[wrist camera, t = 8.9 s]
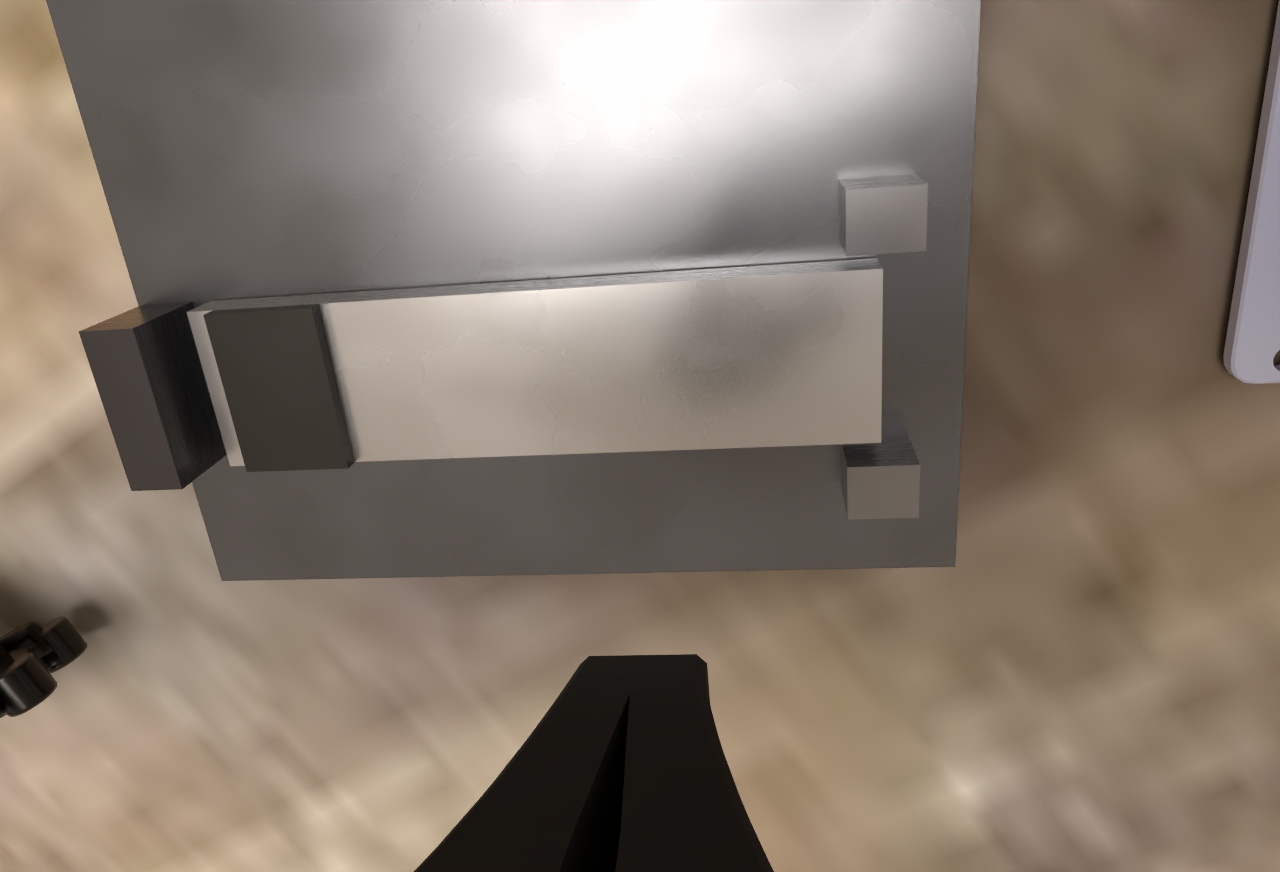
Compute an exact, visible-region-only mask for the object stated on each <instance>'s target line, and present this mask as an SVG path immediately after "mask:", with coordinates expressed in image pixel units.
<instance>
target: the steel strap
mask: <svg viewBox="0 0 1280 872" xmlns="http://www.w3.org/2000/svg"><path fill="white" fill-rule="evenodd" d="M187 316H188V319H189V323H190V326H191V330H192V333H193V337H194V340H195V344H196V347H197V351H198V354H199V358H200V361H201V365H202V369H203V372H204V376H205V379H206V383H207V386H208V390H209V393H210V397H211V400H212V404H213V407H214V411H215V414H216V418H217V421H218V425H219V428H220V432H221V436H222V439H223V443H224V446H225V450H226V453H227V457H228V460H229V464H230V466H245V468H246V471H247V472H265V471H294V470H322V469H349V468H350V466H351V465H352V464H353V463H354V462H364V461H392V460H419V459H447V458H475V457H502V456H530V455H558V454H586V453H613V452H641V451H669V450H697V449H724V448H752V447H780V446H807V445H835V444H863V443H881V419H882V317H883V268H882V266H881V264H880V263H879V261H878V259H877V258H870V259H855V260H839V261H824V262H808V263H792V264H777V265H761V266H746V267H730V268H714V269H699V270H683V271H668V272H652V273H636V274H621V275H605V276H590V277H574V278H558V279H543V280H527V281H511V282H496V283H480V284H465V285H449V286H433V287H418V288H402V289H387V290H371V291H355V292H340V293H324V294H309V295H293V296H277V297H262V298H246V299H231V300H215V301H209V302H207V303H205V304H203V305H201V306H199V307H196V308H194V309H192V310H190V311H188V312H187Z"/></svg>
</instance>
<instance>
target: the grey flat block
mask: <svg viewBox="0 0 1280 872" xmlns="http://www.w3.org/2000/svg"><path fill="white" fill-rule="evenodd" d="M46 1H47V5H48V8H49V11H50V15H51V18H52V21H53V25H54V28H55V31H56V34H57V38H58V41H59V44H60V48H61V51H62V54H63V58H64V61H65V64H66V68H67V71H68V74H69V77H70V81H71V84H72V87H73V91H74V94H75V97H76V101H77V104H78V107H79V110H80V114H81V117H82V120H83V124H84V127H85V130H86V134H87V137H88V140H89V143H90V147H91V150H92V153H93V157H94V160H95V163H96V167H97V170H98V173H99V176H100V180H101V183H102V186H103V190H104V193H105V196H106V200H107V203H108V206H109V209H110V213H111V216H112V219H113V223H114V226H115V229H116V233H117V236H118V239H119V242H120V246H121V249H122V252H123V256H124V259H125V262H126V266H127V269H128V272H129V275H130V279H131V282H132V285H133V289H134V292H135V295H136V299H137V302H138V305H139V307H137V308H134V309H132V310H129V311H127V312H125V313H122V314H120V315H117V316H115V317H113V318H110V319H108V320H105V321H103V322H101V323H98V324H96V325H93V326H91V327H89V328H86V329H84V330H82V331H79V334H80V337H81V340H82V343H83V346H84V349H85V352H86V355H87V358H88V361H89V364H90V367H91V370H92V373H93V376H94V379H95V382H96V385H97V388H98V391H99V394H100V397H101V400H102V403H103V406H104V409H105V412H106V415H107V418H108V421H109V424H110V427H111V430H112V433H113V436H114V439H115V442H116V445H117V448H118V451H119V454H120V457H121V460H122V463H123V467H124V470H125V473H126V476H127V479H128V482H129V485H130V488H131V491H142V490H171V489H183V488H184V487H186V486H187V485H188V484H189V483H191V482H192V483H193V487H194V490H195V493H196V497H197V500H198V503H199V506H200V510H201V513H202V516H203V520H204V523H205V526H206V530H207V533H208V536H209V539H210V543H211V546H212V549H213V553H214V556H215V559H216V563H217V566H218V569H219V573H220V576H221V579H222V581H240V580H291V579H343V578H394V577H446V576H497V575H549V574H600V573H651V572H703V571H754V570H806V569H857V568H909V567H955V559H956V536H957V514H958V492H959V470H960V448H961V426H962V404H963V382H964V360H965V338H966V316H967V294H968V272H969V250H970V228H971V206H972V184H973V161H974V139H975V117H976V95H977V73H978V51H979V29H980V7H981V0H46ZM870 258H877V259H878V261H879V263H880V264H881V266H882V268H883V317H882V419H881V443H863V444H835V445H807V446H780V447H752V448H724V449H697V450H669V451H641V452H613V453H586V454H558V455H530V456H502V457H475V458H447V459H419V460H392V461H364V462H354V463H353V464H352V465H351V466H350V468H349V469H322V470H294V471H265V472H247V471H246V468H245V466H230V464H229V460H228V457H227V453H226V450H225V446H224V443H223V439H222V436H221V432H220V428H219V425H218V421H217V418H216V414H215V411H214V407H213V404H212V400H211V397H210V393H209V390H208V386H207V383H206V379H205V376H204V372H203V369H202V365H201V361H200V358H199V354H198V351H197V347H196V344H195V340H194V337H193V333H192V330H191V326H190V323H189V319H188V316H187V312H188V311H190V310H192V309H194V308H196V307H199V306H201V305H203V304H205V303H207V302H209V301H215V300H231V299H246V298H262V297H277V296H293V295H309V294H324V293H340V292H355V291H371V290H387V289H402V288H418V287H433V286H449V285H465V284H480V283H496V282H511V281H527V280H543V279H558V278H574V277H590V276H605V275H621V274H636V273H652V272H668V271H683V270H699V269H714V268H730V267H746V266H761V265H777V264H792V263H808V262H824V261H839V260H855V259H870Z"/></svg>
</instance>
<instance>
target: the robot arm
mask: <svg viewBox="0 0 1280 872" xmlns="http://www.w3.org/2000/svg"><path fill="white" fill-rule="evenodd" d="M1279 350H1280V0H1279V4H1278V10H1277V17H1276V23H1275V29H1274V36H1273V42H1272V49H1271V55H1270V61H1269V68H1268V74H1267V80H1266V87H1265V93H1264V100H1263V106H1262V112H1261V119H1260V125H1259V132H1258V138H1257V144H1256V151H1255V157H1254V164H1253V170H1252V176H1251V183H1250V189H1249V196H1248V202H1247V208H1246V215H1245V221H1244V227H1243V234H1242V240H1241V247H1240V253H1239V259H1238V266H1237V272H1236V279H1235V285H1234V291H1233V298H1232V304H1231V311H1230V317H1229V323H1228V330H1227V336H1226V343H1225V349H1224V355H1223V358H1224V366H1225V368H1226V369H1227V371H1228V373H1230V374H1231V375H1233V376H1234V377H1236V378H1237V379H1239V380H1241V381H1242V382H1244V383H1251V384H1266V383H1280V365H1276V366H1274V364H1273V359H1274V356H1275V354H1276V353H1277V352H1278V351H1279ZM414 872H774V871H773V869H772V867H771V865H770V863H769V861H768V859H767V857H766V855H765V852H764V850H763V848H762V846H761V844H760V842H759V839H758V837H757V835H756V833H755V831H754V829H753V826H752V824H751V822H750V820H749V817H748V815H747V813H746V810H745V808H744V805H743V803H742V801H741V798H740V796H739V793H738V790H737V788H736V785H735V782H734V780H733V777H732V774H731V772H730V769H729V766H728V764H727V761H726V758H725V755H724V753H723V749H722V746H721V743H720V740H719V737H718V734H717V730H716V726H715V722H714V719H713V715H712V711H711V706H710V698H709V685H708V671H707V663H706V662H705V661H704V660H702V659H701V658H700V657H699V656H698V655H697V654H692V655H632V656H589V657H588V658H587V659H585V660H584V661H583V662H582V663H581V664H580V666H579V667H578V669H577V670H576V672H575V673H574V674H573V676H572V677H571V679H570V680H569V682H568V683H567V685H566V686H565V688H564V689H563V690H562V692H561V693H560V695H559V696H558V698H557V699H556V700H555V702H554V703H553V705H552V706H551V708H550V709H549V710H548V712H547V713H546V714H545V716H544V717H543V719H542V720H541V721H540V723H539V724H538V725H537V727H536V728H535V729H534V731H533V732H532V734H531V735H530V736H529V738H528V739H527V740H526V741H525V743H524V744H523V745H522V746H521V748H520V749H519V750H518V752H517V753H516V754H515V755H514V757H513V758H512V759H511V760H510V762H509V763H508V764H507V766H506V767H505V768H504V769H503V771H502V772H501V773H500V775H499V776H498V777H497V778H496V780H495V781H494V782H493V783H492V785H491V786H490V787H489V788H488V789H487V791H486V792H485V793H484V794H483V795H482V797H481V798H480V799H479V800H478V801H477V802H476V803H475V805H474V806H473V807H472V808H471V809H470V810H469V811H468V813H467V814H466V815H465V816H464V817H463V818H462V819H461V820H460V822H459V823H458V824H457V825H456V826H455V827H454V828H453V830H452V831H451V832H450V833H449V834H448V835H447V836H446V838H445V839H444V840H443V841H442V842H441V843H440V844H439V846H438V847H437V848H436V849H435V850H434V851H433V852H432V853H431V854H430V855H429V856H428V857H427V858H426V859H425V860H424V862H423V863H422V864H421V865H420V866H419V867H418V868H417V869H416V870H415V871H414Z"/></svg>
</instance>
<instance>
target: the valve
mask: <svg viewBox="0 0 1280 872" xmlns="http://www.w3.org/2000/svg"><path fill="white" fill-rule="evenodd" d="M41 629H42V630H43V632H42V633H41V631H40V630H39V629H38V628H37V626H36V625H35V624H34V623H33V622H28V623H26V624H24V625H21V626H19V627H17V628H15V629H13V630H12V631H10V632H9V633H7V634H5V635H4V636H3V637H1V638H0V718H1V717H3V716H5V715H8V716H10V717H14V716H18V715H21V714H23V713H25V712H27V711H28V710H30V709H32V708H33V707H35V706H36V705H38V704H39V703H41V702H42V701H43V700H45V699H46V698H47V697H48V696H49V695H51V694H52V693H53V692H54V690H55V689H56V687H57V682H56V681H55V679H54V678H53V677H52V676H51V674H50V673H53V672H55V671H57V670H59V669H61V668H63V667H64V666H66V665H68V664H69V663H71V662H72V661H74V660H75V659H76V658H77V657H79V656H80V655H81V654H82V653H83V652H84V651H85V650H86V648H87V643H86V642H85V641H84V639H83V638H82V637H81V636H80V634H79V633H78V632H77V631H76V629H75V628H74V627H73V626H72V624H71V623H70V622H69V621H68V619H67V618H66V617H64V616H61V617H58V618H56V619H54V620H52V621H50V622H48V623H46V624H44V625H43V626H42V627H41Z"/></svg>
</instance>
